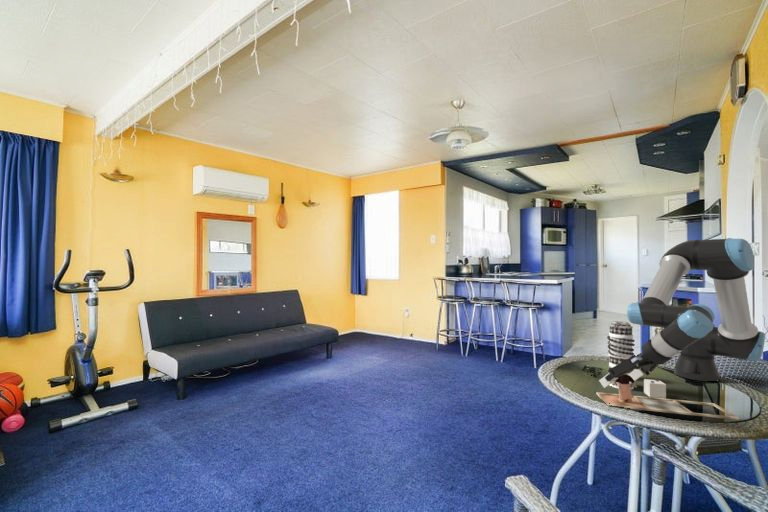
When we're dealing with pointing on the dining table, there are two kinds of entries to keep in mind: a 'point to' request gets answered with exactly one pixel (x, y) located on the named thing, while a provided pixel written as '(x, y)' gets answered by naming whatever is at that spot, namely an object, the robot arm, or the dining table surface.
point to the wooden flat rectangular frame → (661, 405)
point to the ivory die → (655, 388)
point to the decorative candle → (620, 345)
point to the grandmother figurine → (625, 387)
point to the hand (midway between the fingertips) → (615, 382)
